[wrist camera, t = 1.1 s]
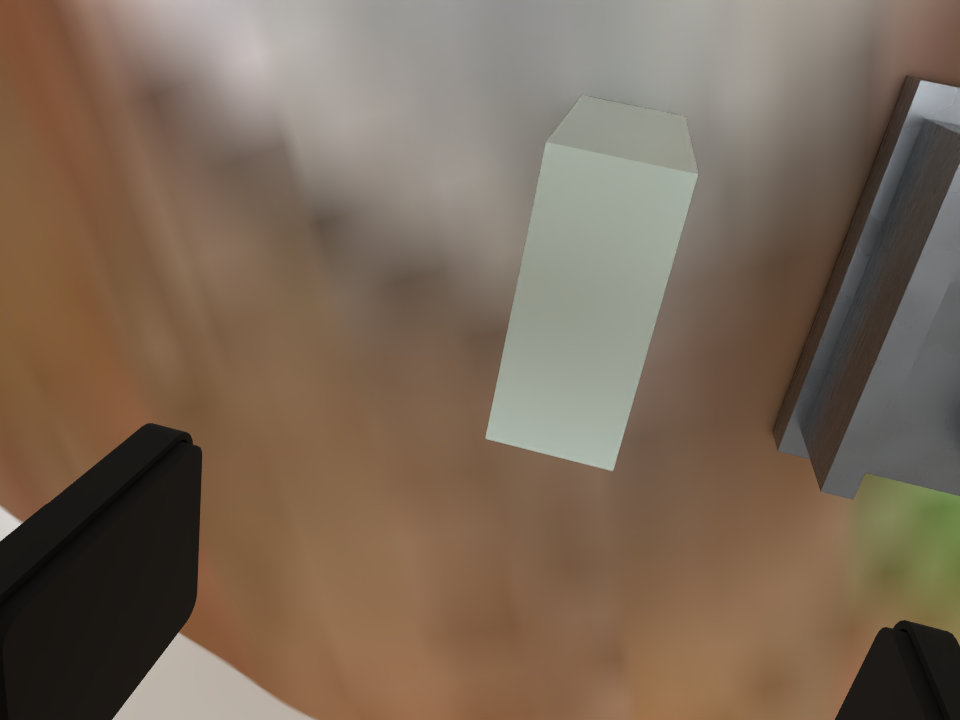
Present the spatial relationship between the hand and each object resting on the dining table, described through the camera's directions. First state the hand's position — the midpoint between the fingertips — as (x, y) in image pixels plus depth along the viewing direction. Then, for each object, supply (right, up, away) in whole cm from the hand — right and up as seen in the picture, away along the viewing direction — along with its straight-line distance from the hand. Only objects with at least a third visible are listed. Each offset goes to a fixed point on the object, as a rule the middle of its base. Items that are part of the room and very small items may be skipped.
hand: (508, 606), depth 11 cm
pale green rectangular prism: (+4, +8, +18) cm, 20 cm away
